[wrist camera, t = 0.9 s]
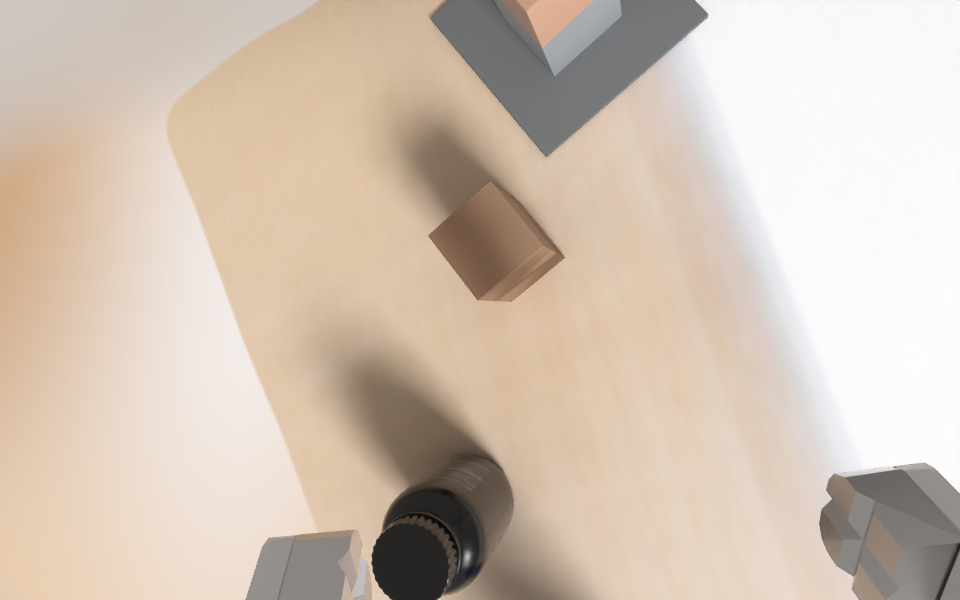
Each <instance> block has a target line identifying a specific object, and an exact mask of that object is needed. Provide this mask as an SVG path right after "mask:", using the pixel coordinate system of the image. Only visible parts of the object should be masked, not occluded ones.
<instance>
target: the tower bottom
mask: <svg viewBox="0 0 960 600" xmlns="http://www.w3.org/2000/svg"><path fill="white" fill-rule="evenodd" d="M494 1H495V3H496V5H497V7H498V9H499V10H500V12H501V14H502V16H503V18H504V19H505V20H506V21H507V23H508V24H509V25H510V26H511V27H512V28H513V29H514V31H515V32H516V33H517V34H518V35H519V36H520V38H521V39H522V40H523V41H524V42H525V43H526V44H527V46H528V47H529V48H530V49H531V50H532V51H533V52H534V54H535V55H536V56H537V57H538V58H539V59H540V61H541V62H542V63H543V64H544V65H545V66H546V67H547V69H548V70H549V71H550V72H551V73H552V74H553V75H554V77H555V76H556V75H557V74H558V73H559V72H560V71H561V70H562V69H563V68H564V67H566V66H567V65H568V64H569V63H570V62H571V61H572V60H573V59H574V58H576V57H577V56H578V55H579V54H580V53H581V52H582V51H583V50H584V49H586V48H587V47H588V46H589V45H590V44H591V43H592V42H593V41H594V40H596V39H597V38H598V37H599V36H600V35H601V34H602V33H603V32H604V31H606V30H607V29H608V28H609V27H610V26H611V25H612V24H613V23H614V22H616V21H617V20H618V19H619V18H620V17H621V16H622V13H621V4H620V0H594V1H593V2H592V3H591V4H589V5H588V6H587V7H586V8H585V9H584V10H583V11H582V12H581V13H580V14H579V15H577V16H576V17H575V18H574V19H573V20H572V21H571V22H570V23H569V24H568V25H567V26H566V27H564V28H563V29H562V30H561V31H560V32H559V33H558V34H557V35H556V36H555V37H554V38H552V39H551V40H550V41H549V42H548V43H547V44H546V45H545V46H544V47H543V48H542V47H541V46H540V45H539V44H538V43H537V42H536V40H535V39H534V38H533V37H532V36H531V35H530V34H529V32H528V31H527V30H526V29H525V28H524V27H523V26H522V24H521V23H520V22H519V21H518V20H517V19H516V18H515V16H514V15H513V14H512V13H511V12H510V11H509V10H508V8H507V7H506V6H505V5H504V4H503V3H502V2H501V0H494Z"/></svg>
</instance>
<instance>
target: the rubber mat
mask: <svg viewBox="0 0 960 600" xmlns="http://www.w3.org/2000/svg"><path fill="white" fill-rule="evenodd" d="M620 4H621V13H622V16H621V17H620V18H619V19H618V20H617V21H616V22H614V23H613V24H612V25H611V26H610V27H609V28H608V29H607V30H606V31H604V32H603V33H602V34H601V35H600V36H599V37H598V38H597V39H596V40H594V41H593V42H592V43H591V44H590V45H589V46H588V47H587V48H586V49H584V50H583V51H582V52H581V53H580V54H579V55H578V56H577V57H576V58H574V59H573V60H572V61H571V62H570V63H569V64H568V65H567V66H566V67H564V68H563V69H562V70H561V71H560V72H559V73H558V74H557V75H556V76H555V77H554V75H553V74H552V73H551V72H550V71H549V70H548V69H547V67H546V66H545V65H544V64H543V63H542V62H541V61H540V59H539V58H538V57H537V56H536V55H535V54H534V52H533V51H532V50H531V49H530V48H529V47H528V46H527V44H526V43H525V42H524V41H523V40H522V39H521V38H520V36H519V35H518V34H517V33H516V32H515V31H514V29H513V28H512V27H511V26H510V25H509V24H508V23H507V21H506V20H505V19H504V18H503V16H502V14H501V12H500V10H499V9H498V7H497V5H496V3H495V1H494V0H450V1H449V2H448V3H447V4H446V5H445V6H444V7H443V8H442V9H441V10H440V11H439V12H438V13H437V14H435V15H434V16H433V17H432V18H431V20H432V21H433V22H434V23H435V25H436V26H437V27H438V28H439V29H440V31H441V32H442V33H443V34H444V35H445V37H446V38H447V39H448V40H449V41H450V43H451V44H452V45H453V46H454V47H455V49H456V50H457V51H458V52H459V53H460V54H461V56H462V57H463V58H464V59H465V60H466V62H467V63H468V64H469V65H470V66H471V68H472V69H473V70H474V71H475V72H476V74H477V75H478V76H479V77H480V78H481V80H482V81H483V82H484V83H485V84H486V85H487V87H488V88H489V89H490V90H491V91H492V93H493V94H494V95H495V96H496V97H497V99H498V100H499V101H500V102H501V103H502V105H503V106H504V107H505V108H506V109H507V111H508V112H509V113H510V114H511V115H512V116H513V118H514V119H515V120H516V121H517V122H518V124H519V125H520V126H521V127H522V128H523V130H524V131H525V132H526V133H527V134H528V136H529V137H530V138H531V139H532V140H533V142H534V143H535V144H536V145H537V146H538V147H539V149H540V150H541V151H542V152H543V153H544V155H545V156H546V157H547V156H549V155H550V154H551V153H552V152H553V151H554V150H555V149H557V148H558V147H559V146H560V145H561V144H562V143H564V142H565V141H566V140H567V139H568V138H569V137H570V136H572V135H573V134H574V133H575V132H576V131H577V130H578V129H580V128H581V127H582V126H583V125H584V124H585V123H587V122H588V121H589V120H590V119H591V118H592V117H593V116H595V115H596V114H597V113H598V112H599V111H600V110H601V109H603V108H604V107H605V106H606V105H607V104H608V103H610V102H611V101H612V100H613V99H614V98H615V97H616V96H618V95H619V94H620V93H621V92H622V91H623V90H624V89H626V88H627V87H628V86H629V85H630V84H631V83H633V82H634V81H635V80H636V79H637V78H638V77H639V76H641V75H642V74H643V73H644V72H645V71H646V70H647V69H649V68H650V67H651V66H652V65H653V64H654V63H656V62H657V61H658V60H659V59H660V58H661V57H662V56H664V55H665V54H666V53H667V52H668V51H669V50H670V49H672V48H673V47H674V46H675V45H676V44H677V43H679V42H680V41H681V40H682V39H683V38H684V37H685V36H687V35H688V34H689V33H690V32H691V31H692V30H693V29H695V28H696V27H697V26H698V25H699V24H700V23H702V22H703V21H704V20H705V19H706V18H707V17H708V14H707V12H706V11H705V10H704V9H703V8H702V7H701V6H700V5H699V4H698V3H697V2H696V1H695V0H620Z"/></svg>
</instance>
